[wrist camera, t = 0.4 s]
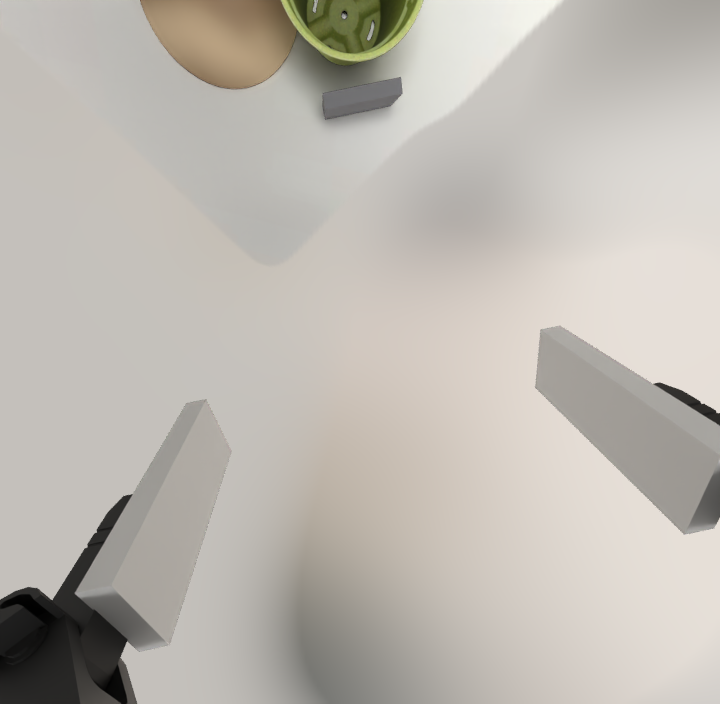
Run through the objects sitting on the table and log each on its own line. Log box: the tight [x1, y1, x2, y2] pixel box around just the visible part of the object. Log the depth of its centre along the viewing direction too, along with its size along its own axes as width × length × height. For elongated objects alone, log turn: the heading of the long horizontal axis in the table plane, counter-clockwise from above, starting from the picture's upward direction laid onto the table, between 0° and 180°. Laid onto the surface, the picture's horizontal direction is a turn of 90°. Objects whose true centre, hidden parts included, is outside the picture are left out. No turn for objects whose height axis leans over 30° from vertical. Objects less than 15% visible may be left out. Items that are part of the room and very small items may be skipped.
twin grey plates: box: [322, 77, 402, 119], centre depth 25 cm, size 13×6×5 cm, turn 11°
